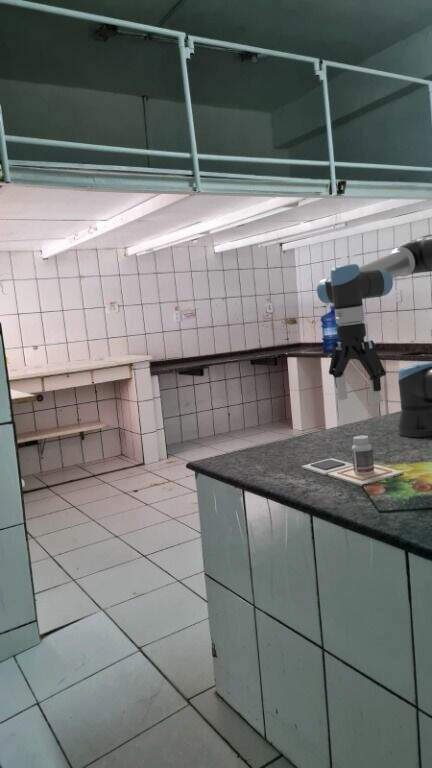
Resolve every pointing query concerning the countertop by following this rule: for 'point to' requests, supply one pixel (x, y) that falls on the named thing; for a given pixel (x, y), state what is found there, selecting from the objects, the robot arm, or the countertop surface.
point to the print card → (359, 480)
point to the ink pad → (327, 466)
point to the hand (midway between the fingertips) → (359, 401)
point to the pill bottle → (362, 456)
